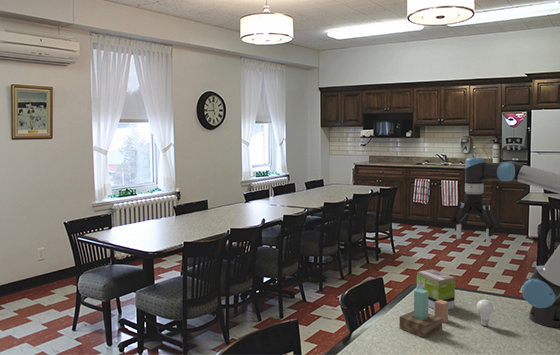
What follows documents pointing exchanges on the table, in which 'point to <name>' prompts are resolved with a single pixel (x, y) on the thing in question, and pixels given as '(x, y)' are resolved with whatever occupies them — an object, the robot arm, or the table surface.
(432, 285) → the tea box
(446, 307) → the short peg
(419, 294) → the long peg
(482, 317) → the lightbulb
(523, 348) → the table surface
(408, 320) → the socket block
